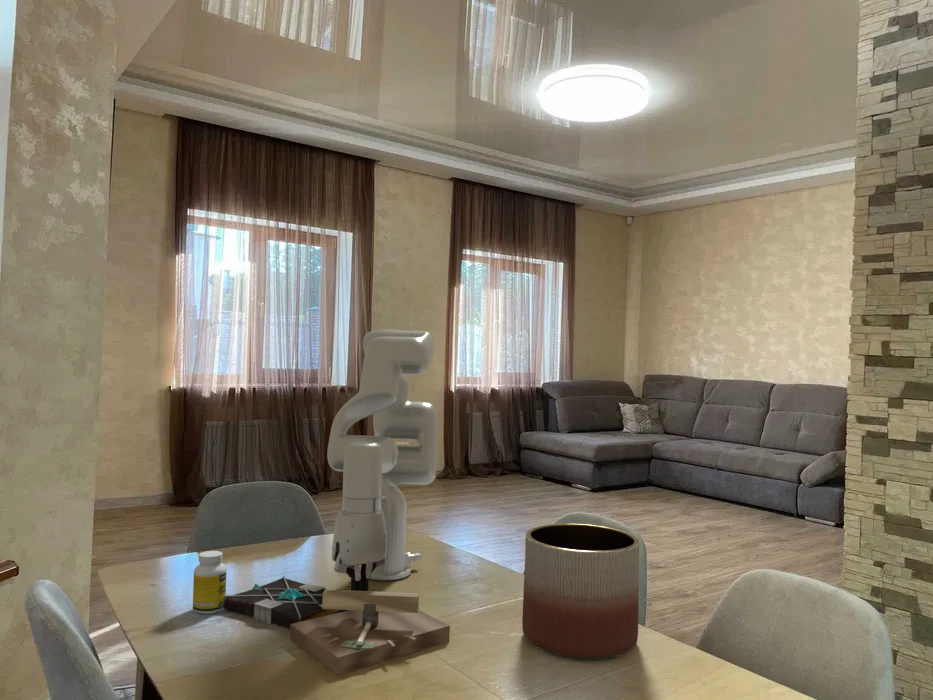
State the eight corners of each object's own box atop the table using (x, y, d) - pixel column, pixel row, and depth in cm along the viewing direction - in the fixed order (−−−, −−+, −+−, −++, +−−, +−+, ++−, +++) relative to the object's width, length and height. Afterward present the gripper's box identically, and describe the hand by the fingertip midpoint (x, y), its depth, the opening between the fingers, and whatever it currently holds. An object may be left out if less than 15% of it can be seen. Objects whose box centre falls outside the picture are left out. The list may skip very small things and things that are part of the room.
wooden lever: (325, 618, 136) (326, 588, 136) (418, 622, 136) (419, 592, 136) (308, 643, 124) (309, 611, 124) (410, 648, 124) (411, 615, 124)
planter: (568, 610, 153) (570, 517, 154) (659, 642, 138) (662, 538, 138) (498, 637, 138) (501, 533, 138) (592, 676, 122) (595, 559, 122)
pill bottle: (215, 616, 145) (217, 559, 145) (186, 613, 146) (187, 557, 146) (231, 605, 151) (232, 550, 151) (202, 603, 152) (204, 548, 152)
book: (222, 613, 148) (223, 589, 148) (282, 591, 162) (282, 569, 162) (299, 636, 137) (299, 610, 137) (356, 610, 151) (356, 587, 151)
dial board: (396, 613, 149) (396, 598, 149) (455, 644, 134) (455, 627, 134) (289, 640, 134) (290, 623, 134) (342, 679, 119) (343, 659, 119)
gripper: (383, 497, 147) (381, 586, 147) (318, 505, 138) (315, 600, 138) (404, 503, 141) (401, 596, 141) (337, 513, 132) (334, 612, 132)
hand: (359, 598), depth 139 cm, fingers closed
